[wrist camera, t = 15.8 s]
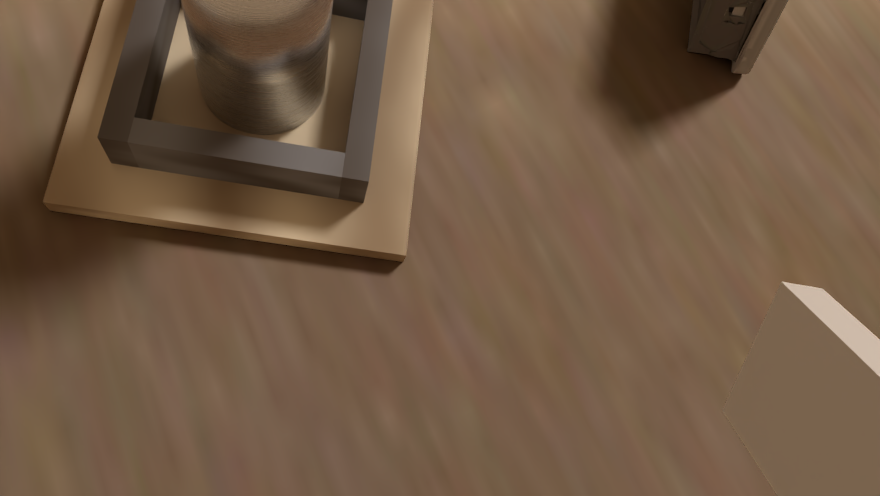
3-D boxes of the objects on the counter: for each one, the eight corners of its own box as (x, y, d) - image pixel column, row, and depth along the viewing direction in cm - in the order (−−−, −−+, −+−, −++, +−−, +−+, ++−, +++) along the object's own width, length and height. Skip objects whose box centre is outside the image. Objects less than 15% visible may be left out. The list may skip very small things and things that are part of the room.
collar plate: (432, -8, 39) (445, -52, 36) (403, 262, 34) (415, 237, 31) (133, -70, 37) (118, -124, 34) (49, 210, 31) (22, 178, 28)
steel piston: (335, 38, 36) (357, -164, 25) (318, 147, 34) (334, -21, 23) (209, 14, 35) (173, -208, 24) (183, 125, 33) (130, -62, 22)
